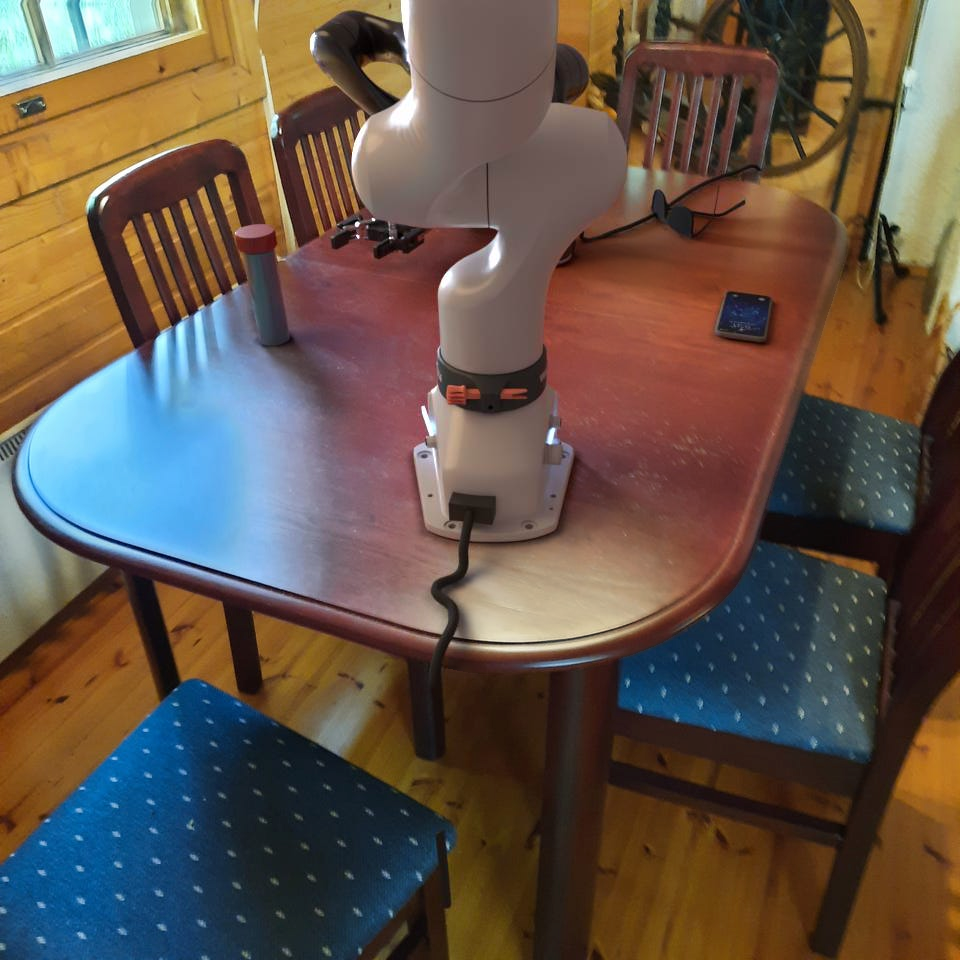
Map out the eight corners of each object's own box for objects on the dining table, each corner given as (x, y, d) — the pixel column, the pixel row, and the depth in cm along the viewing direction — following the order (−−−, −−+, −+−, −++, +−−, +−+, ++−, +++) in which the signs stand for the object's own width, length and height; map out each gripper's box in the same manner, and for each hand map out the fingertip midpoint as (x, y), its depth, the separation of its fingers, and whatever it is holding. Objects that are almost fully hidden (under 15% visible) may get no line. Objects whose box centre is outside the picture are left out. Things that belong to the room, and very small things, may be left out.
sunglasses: (756, 231, 156) (761, 204, 153) (684, 241, 153) (688, 214, 150) (711, 202, 169) (714, 176, 166) (644, 211, 166) (646, 185, 163)
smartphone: (773, 295, 132) (766, 339, 121) (772, 301, 133) (765, 345, 121) (725, 289, 134) (713, 331, 123) (724, 295, 135) (712, 337, 123)
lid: (266, 255, 115) (264, 239, 114) (230, 252, 116) (227, 236, 115) (284, 241, 119) (281, 225, 118) (249, 238, 121) (246, 222, 119)
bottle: (281, 347, 124) (262, 241, 115) (254, 344, 125) (232, 238, 116) (294, 333, 128) (277, 229, 118) (267, 330, 129) (248, 227, 119)
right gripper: (375, 188, 148) (315, 218, 137) (444, 201, 143) (388, 233, 131) (379, 231, 153) (322, 262, 142) (446, 245, 147) (392, 279, 136)
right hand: (353, 248), depth 137 cm, fingers open, 8 cm apart
